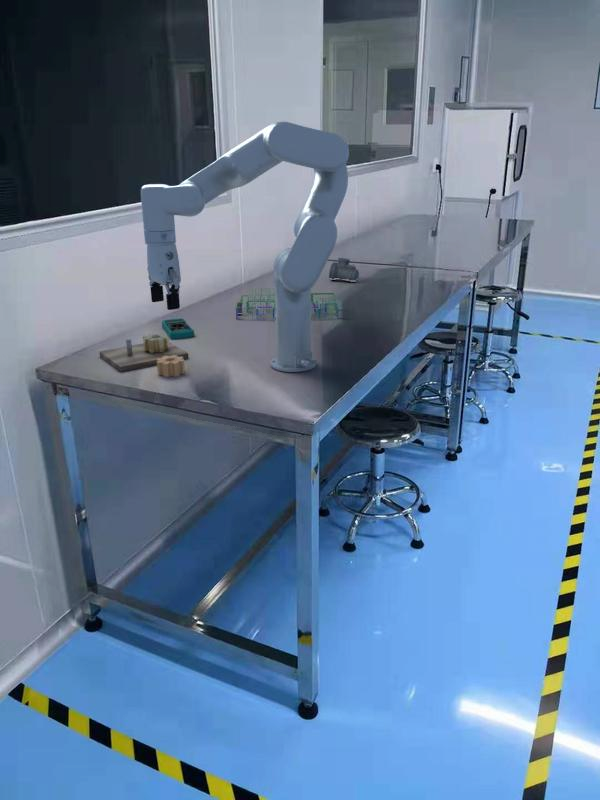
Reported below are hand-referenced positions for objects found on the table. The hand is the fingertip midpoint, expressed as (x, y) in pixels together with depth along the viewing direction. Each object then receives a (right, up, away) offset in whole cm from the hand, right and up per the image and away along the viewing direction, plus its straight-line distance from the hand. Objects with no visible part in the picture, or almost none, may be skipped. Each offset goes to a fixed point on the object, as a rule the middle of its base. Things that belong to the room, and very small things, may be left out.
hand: (165, 305), depth 165 cm
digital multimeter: (-5, -3, +42) cm, 43 cm away
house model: (+30, +8, +69) cm, 76 cm away
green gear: (-7, -10, +20) cm, 23 cm away
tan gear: (0, -17, +7) cm, 18 cm away
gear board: (-10, -12, +18) cm, 24 cm away
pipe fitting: (+54, +26, +113) cm, 128 cm away
